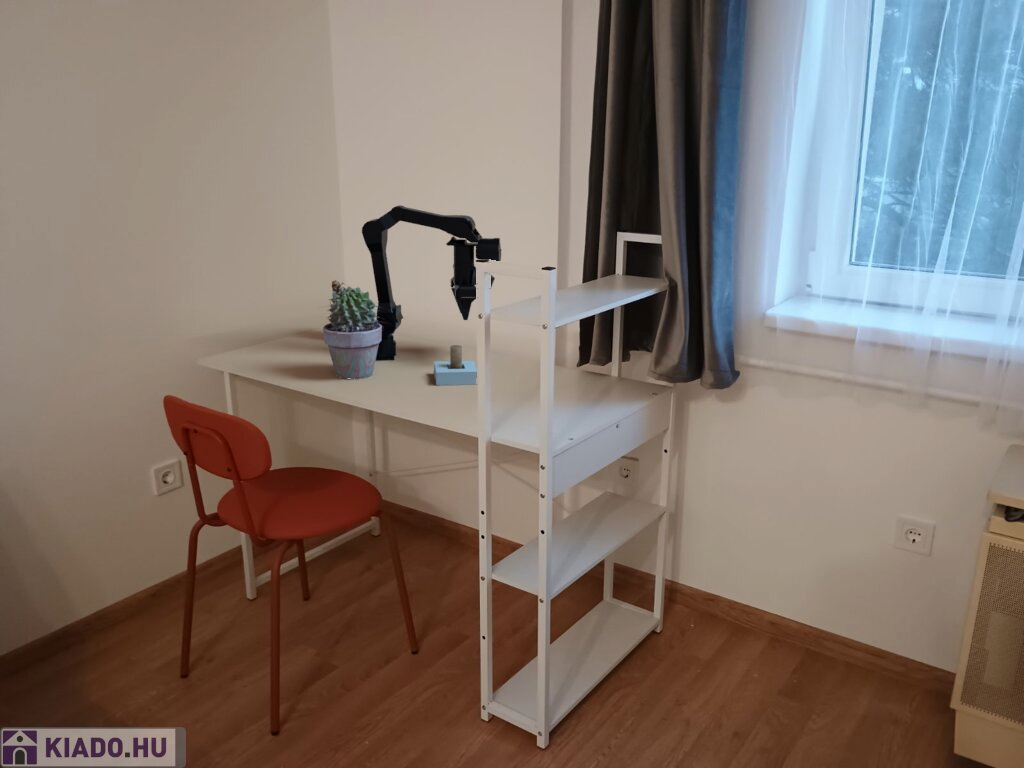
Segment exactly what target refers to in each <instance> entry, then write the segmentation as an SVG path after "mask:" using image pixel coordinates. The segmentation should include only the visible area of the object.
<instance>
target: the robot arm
mask: <svg viewBox="0 0 1024 768" xmlns="http://www.w3.org/2000/svg"><path fill="white" fill-rule="evenodd" d="M399 222H403V223H404V222H405V223H409V224H415V225H418V226H422V227H423V226H424V227H428V228H433V229H438V230H441V231H442V232H445V233H447V234H449V235H451V238H450V240H449V241H447V242H446V243H445V244H446V246H449V247H450V246H451V247H452V246H453V264H452V268H453V276H452V277H451V278H450V287H451V288H450V289H451V292H452V295H453V297H454V300H455V302H456V305H457V307H458V310H459V313H460V314H461V316H462V320H463V321H468V319H469V317H470V316H469V315H470V312H471V307H472V303H473V302H475V300H477V299H476V287H477V283H476V270H477V267H476V266H475V258H476V259H477V260H478V259H491V260H496V261H501V260H502V247H501V245H502V244H501V238H500V237H489V238H487V237H485V238H484V237H483V236H482V235H481V234H480V232H479V230H478V229H477V228H476V222H475V220H474V219H473V217H472V216H469V215H465V214H464V215H463V214H462V215H461V214H447V215H446V214H439V213H434V212H430V211H427V210H421V209H416V208H413V207H412V208H411V207H406V206H404V205H399V204H398V205H396V206H394V207H392V208H391V209H390V210H389V211H387V212H386V213H385V214H383V215H382V216H380V217H379V218H373V219H371V220H369V221H366V222H365V223H363V226H362V227H361V234H362V237H363V239H364V244H365V245H366V247H367V250H368V252H369V253H370V257H371V264H372V271H373V277H374V283H375V291H376V296H377V301H378V302H377V306H378V307H376V308H377V309H376V316H378V317H376V320H378V323H379V324H381V326H383V327H382V338H381V342H380V343H379V346H378V350H377V355H376V360H375V361H378V360H379V361H381V360H382V361H383V360H385V361H386V360H388V361H389V360H390V361H391V360H395V357H396V356H397V341H396V340H395V339H394V334H395V331H396V330H397V329H398V328H399V327H400V326H401V324H402V320H403V319H404V316H403V314H402V305H401V304H396V301H394V296H393V295H394V294H393V289H392V283H391V277H390V270H389V263H388V257H387V256H388V255H387V244H388V236H389V235H388V234H389V232H388V231H389V230H390V229H391V228H392V227H394V226H396V224H398V223H399ZM490 275H491V288H492V287H493V284H494V281H495V276H493V275H492V274H490ZM382 303H383V304H382ZM380 307H381V308H380ZM379 317H380V318H379ZM384 322H385V323H384ZM389 323H390V324H389Z"/></svg>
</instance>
